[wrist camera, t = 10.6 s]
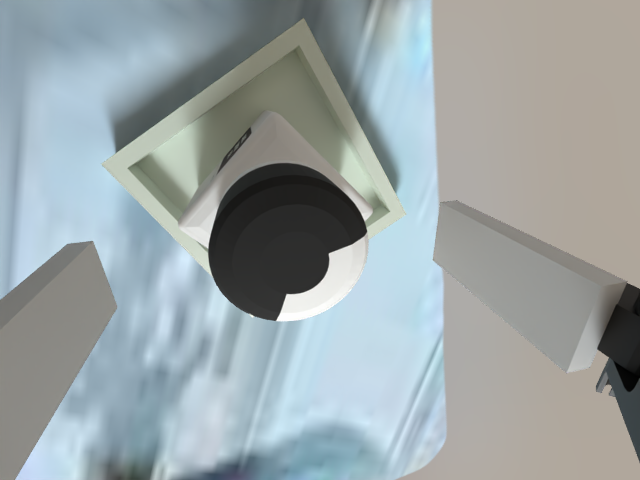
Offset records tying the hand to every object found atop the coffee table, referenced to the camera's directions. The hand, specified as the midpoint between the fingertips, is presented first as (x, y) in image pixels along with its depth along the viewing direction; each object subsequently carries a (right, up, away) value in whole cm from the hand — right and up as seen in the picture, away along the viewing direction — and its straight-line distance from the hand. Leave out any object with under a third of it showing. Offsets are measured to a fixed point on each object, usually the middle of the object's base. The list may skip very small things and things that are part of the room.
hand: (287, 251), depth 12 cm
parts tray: (-2, +5, +12) cm, 13 cm away
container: (-2, +5, +12) cm, 13 cm away
